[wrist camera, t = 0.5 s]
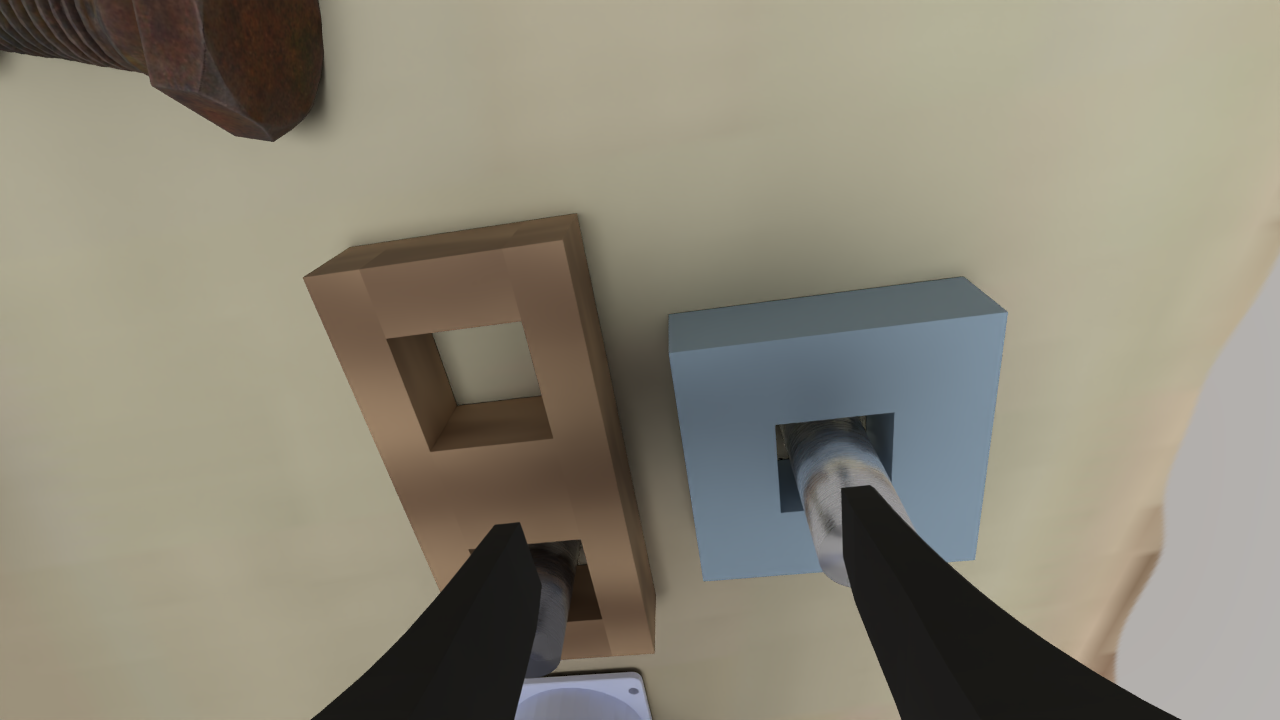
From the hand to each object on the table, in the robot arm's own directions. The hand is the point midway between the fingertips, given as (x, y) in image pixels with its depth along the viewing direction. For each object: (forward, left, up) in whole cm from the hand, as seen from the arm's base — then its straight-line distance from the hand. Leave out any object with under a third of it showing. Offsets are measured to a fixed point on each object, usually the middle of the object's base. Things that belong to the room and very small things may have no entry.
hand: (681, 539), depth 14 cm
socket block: (-4, -5, -10) cm, 11 cm away
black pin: (-8, +7, -10) cm, 14 cm away
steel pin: (-4, -5, -10) cm, 11 cm away
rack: (-4, +7, -10) cm, 12 cm away
